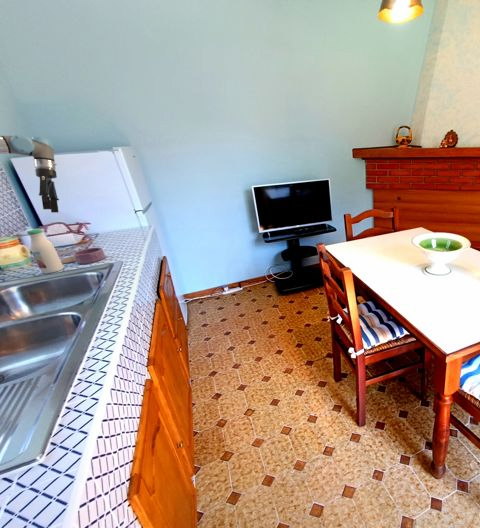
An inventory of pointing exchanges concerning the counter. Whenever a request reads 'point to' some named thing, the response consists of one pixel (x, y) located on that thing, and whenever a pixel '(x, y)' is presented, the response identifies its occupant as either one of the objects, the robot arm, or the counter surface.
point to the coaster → (68, 260)
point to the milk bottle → (44, 252)
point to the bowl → (89, 255)
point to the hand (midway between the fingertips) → (51, 211)
